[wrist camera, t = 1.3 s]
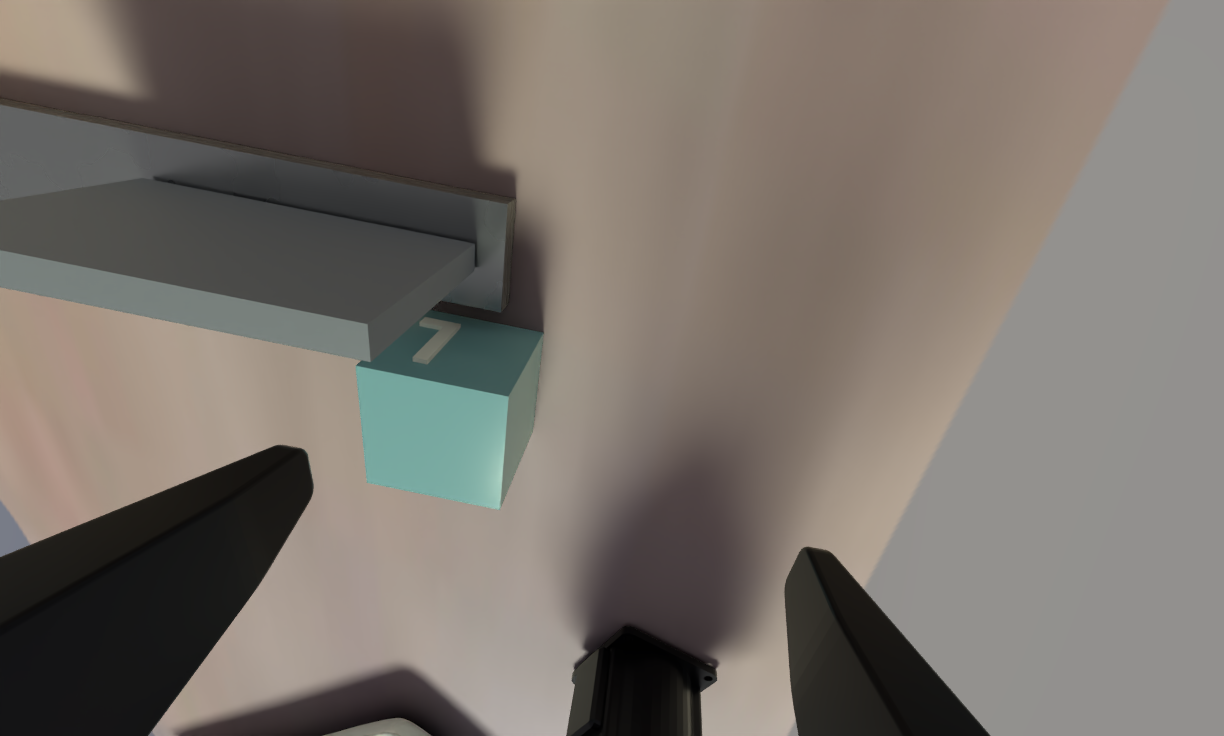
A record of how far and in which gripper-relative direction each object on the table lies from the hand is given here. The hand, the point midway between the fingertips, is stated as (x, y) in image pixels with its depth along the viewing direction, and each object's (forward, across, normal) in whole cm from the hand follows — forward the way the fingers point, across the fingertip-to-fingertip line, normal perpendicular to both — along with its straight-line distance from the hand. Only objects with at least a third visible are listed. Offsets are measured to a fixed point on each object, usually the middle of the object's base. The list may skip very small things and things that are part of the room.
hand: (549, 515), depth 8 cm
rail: (+12, +15, 0) cm, 19 cm away
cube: (+12, +5, +5) cm, 14 cm away
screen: (+11, +11, 0) cm, 16 cm away
